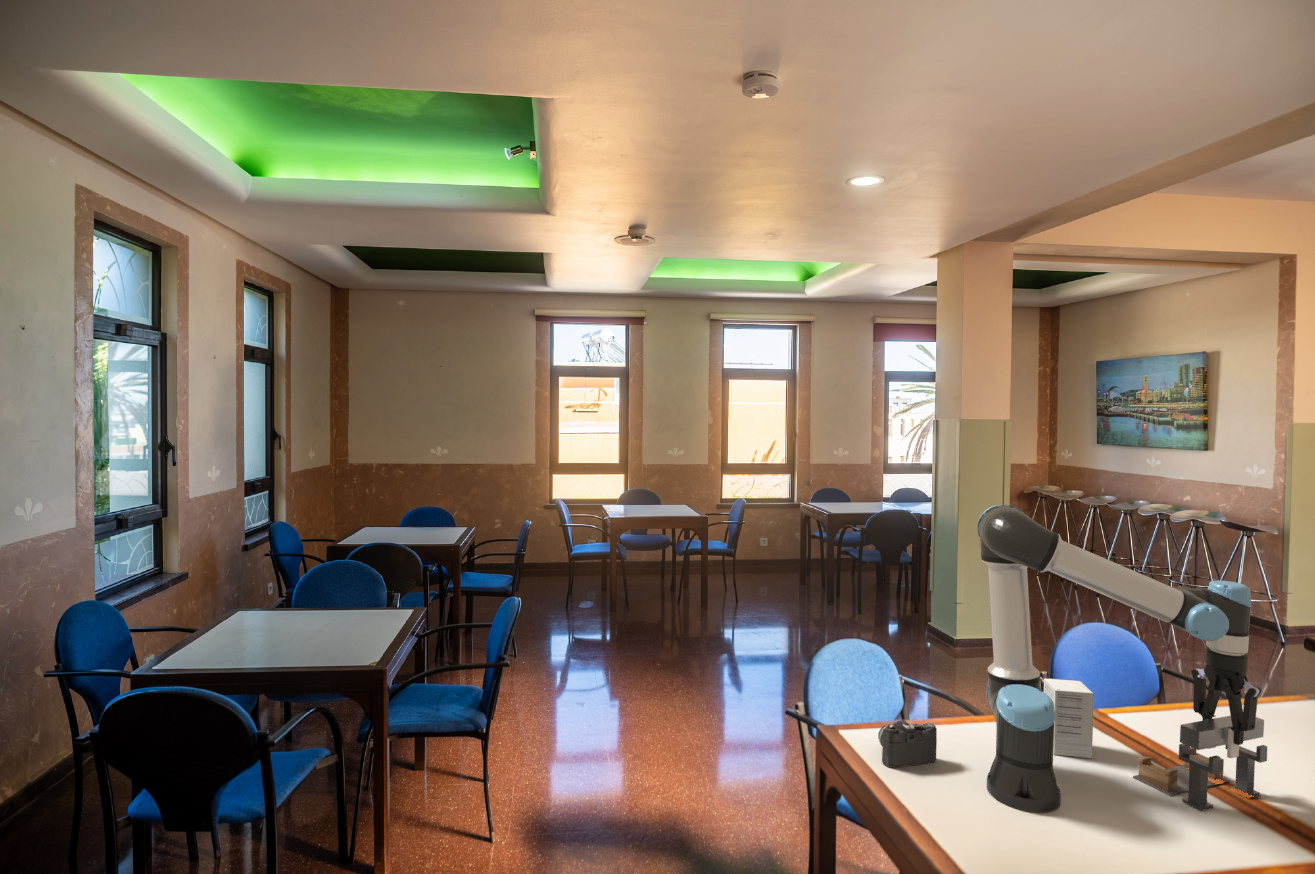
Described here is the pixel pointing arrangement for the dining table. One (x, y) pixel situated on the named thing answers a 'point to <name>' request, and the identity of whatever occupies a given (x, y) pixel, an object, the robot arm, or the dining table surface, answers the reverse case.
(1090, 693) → the supplement box
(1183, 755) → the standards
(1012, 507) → the robot arm
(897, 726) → the camera
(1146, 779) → the bench rests
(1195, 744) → the rail
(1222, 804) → the dining table surface
